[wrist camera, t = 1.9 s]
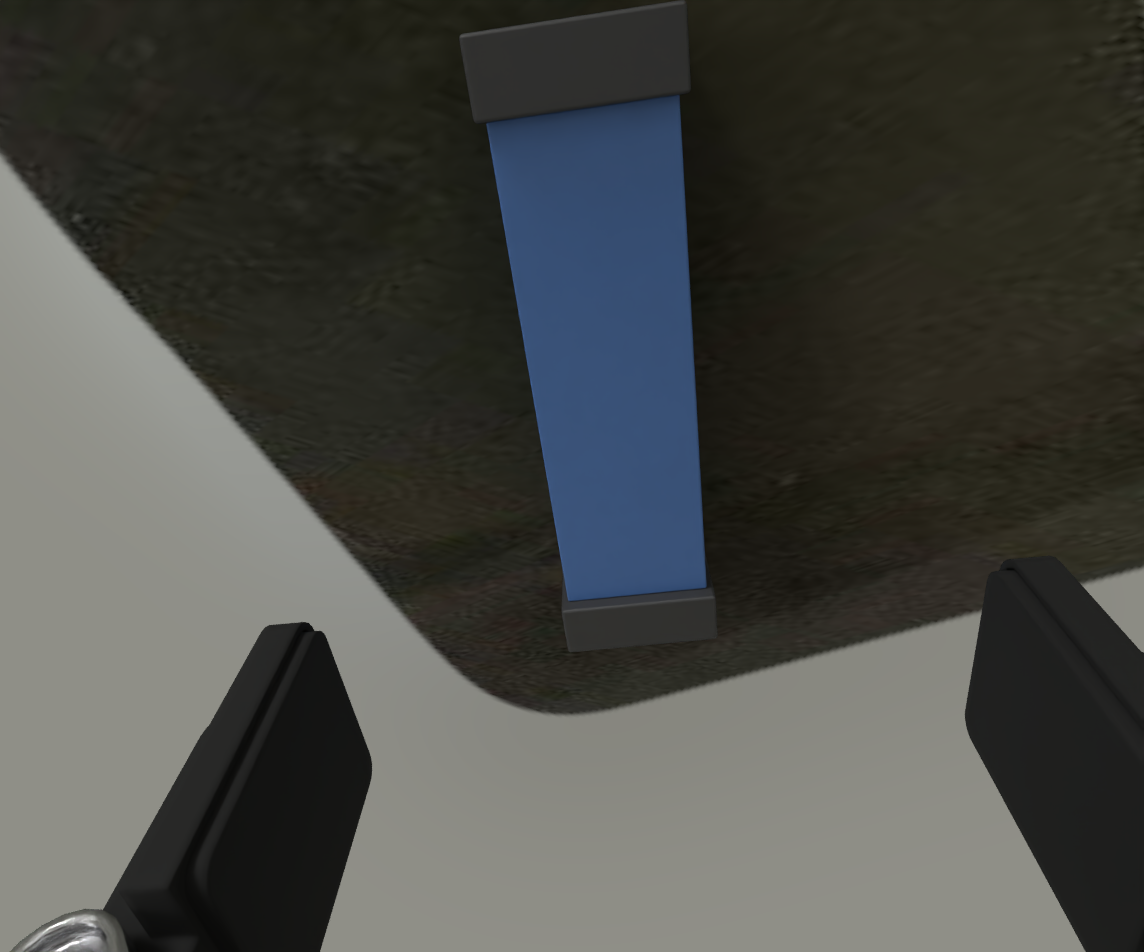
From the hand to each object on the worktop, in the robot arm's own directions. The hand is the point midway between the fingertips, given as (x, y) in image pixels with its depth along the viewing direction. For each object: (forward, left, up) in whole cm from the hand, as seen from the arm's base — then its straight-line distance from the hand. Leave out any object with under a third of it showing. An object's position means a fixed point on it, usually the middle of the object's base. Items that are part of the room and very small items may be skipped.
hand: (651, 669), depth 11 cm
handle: (0, 0, -13) cm, 13 cm away
